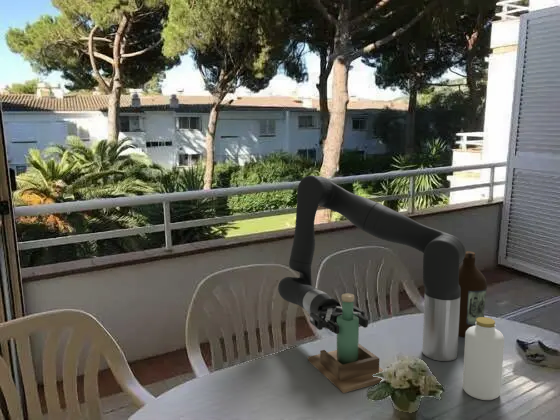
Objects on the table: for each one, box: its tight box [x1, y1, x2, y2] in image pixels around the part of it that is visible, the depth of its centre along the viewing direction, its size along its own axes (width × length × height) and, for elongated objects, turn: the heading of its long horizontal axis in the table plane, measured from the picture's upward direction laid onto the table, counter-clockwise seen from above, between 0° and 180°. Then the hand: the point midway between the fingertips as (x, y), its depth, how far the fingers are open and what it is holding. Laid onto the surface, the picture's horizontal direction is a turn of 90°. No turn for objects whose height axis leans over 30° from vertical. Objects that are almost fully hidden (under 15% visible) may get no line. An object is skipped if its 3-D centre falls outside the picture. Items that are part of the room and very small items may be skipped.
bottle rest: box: [307, 343, 384, 394], centre depth 122 cm, size 18×14×4 cm
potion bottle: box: [462, 316, 505, 401], centre depth 110 cm, size 8×8×18 cm
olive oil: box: [458, 250, 488, 338], centre depth 143 cm, size 11×11×25 cm
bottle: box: [336, 292, 360, 365], centre depth 121 cm, size 6×6×19 cm
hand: (352, 327), depth 119 cm, fingers open, 8 cm apart
